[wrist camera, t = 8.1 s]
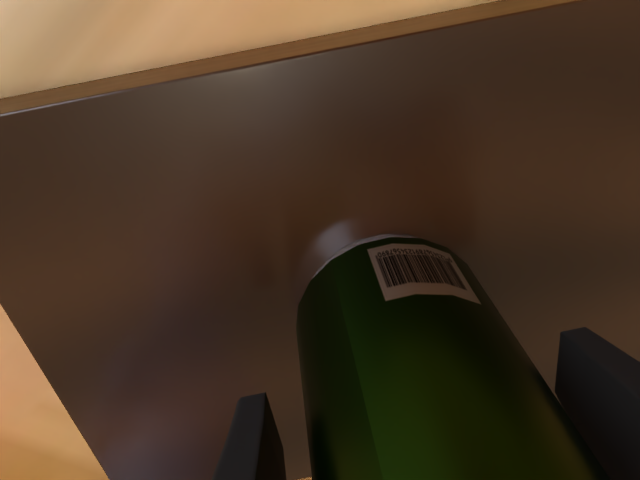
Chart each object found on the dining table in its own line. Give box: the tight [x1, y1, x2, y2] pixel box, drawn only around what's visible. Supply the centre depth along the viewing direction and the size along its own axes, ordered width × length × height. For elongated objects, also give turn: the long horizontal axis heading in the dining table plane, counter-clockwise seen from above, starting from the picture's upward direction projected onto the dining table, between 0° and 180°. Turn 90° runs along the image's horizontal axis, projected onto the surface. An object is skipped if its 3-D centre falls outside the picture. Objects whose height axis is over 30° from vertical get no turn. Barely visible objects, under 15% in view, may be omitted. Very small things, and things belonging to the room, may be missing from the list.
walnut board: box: [0, 0, 640, 480], centre depth 16 cm, size 15×21×2 cm
